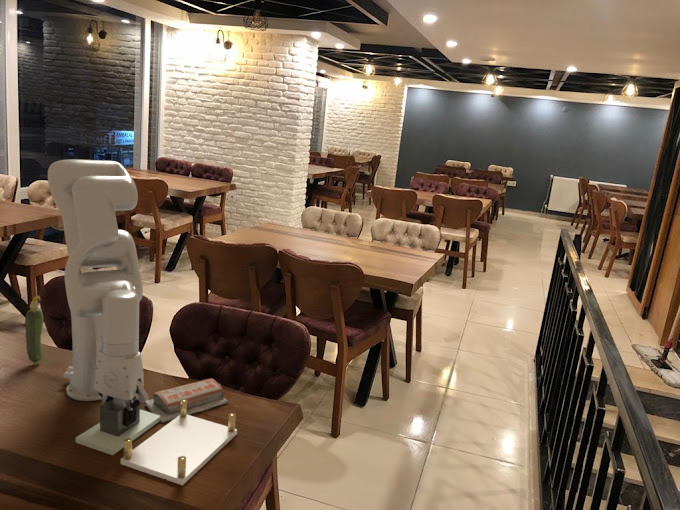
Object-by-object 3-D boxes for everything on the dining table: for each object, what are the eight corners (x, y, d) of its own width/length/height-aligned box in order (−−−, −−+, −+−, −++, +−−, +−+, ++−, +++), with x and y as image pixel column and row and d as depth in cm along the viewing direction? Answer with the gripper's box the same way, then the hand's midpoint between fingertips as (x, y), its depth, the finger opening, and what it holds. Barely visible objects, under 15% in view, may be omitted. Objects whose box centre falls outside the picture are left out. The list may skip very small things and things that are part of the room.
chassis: (120, 464, 115) (120, 441, 114) (182, 417, 135) (182, 398, 133) (182, 485, 110) (183, 462, 109) (237, 434, 130) (238, 414, 129)
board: (75, 442, 121) (75, 412, 119) (126, 409, 135) (126, 382, 134) (112, 455, 118) (112, 425, 116) (160, 420, 132) (161, 392, 131)
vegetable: (23, 365, 153) (20, 296, 148) (34, 359, 157) (31, 292, 152) (37, 367, 152) (35, 298, 148) (48, 361, 156) (46, 294, 152)
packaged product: (210, 372, 149) (229, 387, 142) (209, 389, 150) (228, 404, 143) (144, 388, 137) (161, 406, 130) (144, 406, 139) (161, 424, 131)
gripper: (76, 343, 121) (77, 418, 125) (140, 360, 116) (139, 438, 120) (102, 332, 128) (102, 403, 132) (163, 348, 122) (162, 422, 127)
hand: (120, 419), depth 126 cm, fingers closed on board, 5 cm apart
